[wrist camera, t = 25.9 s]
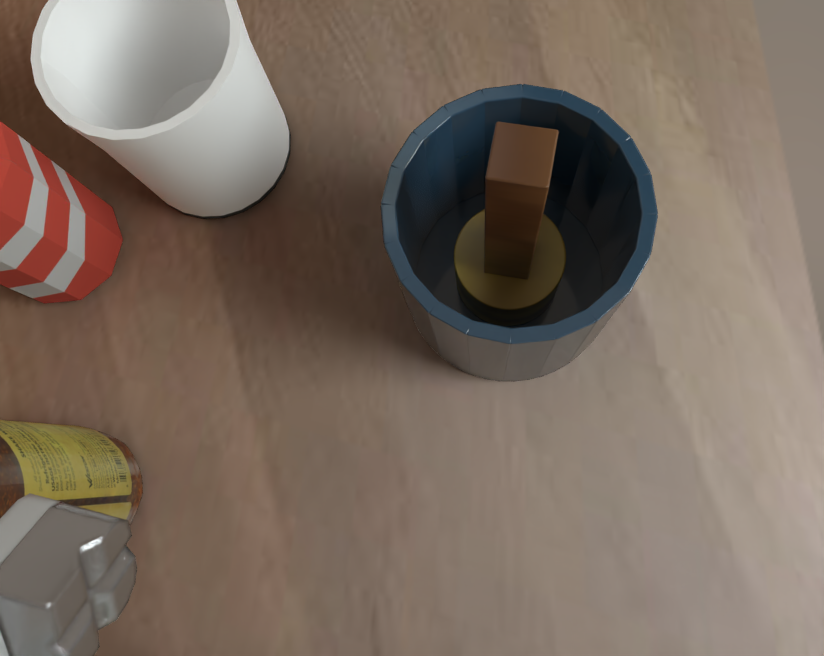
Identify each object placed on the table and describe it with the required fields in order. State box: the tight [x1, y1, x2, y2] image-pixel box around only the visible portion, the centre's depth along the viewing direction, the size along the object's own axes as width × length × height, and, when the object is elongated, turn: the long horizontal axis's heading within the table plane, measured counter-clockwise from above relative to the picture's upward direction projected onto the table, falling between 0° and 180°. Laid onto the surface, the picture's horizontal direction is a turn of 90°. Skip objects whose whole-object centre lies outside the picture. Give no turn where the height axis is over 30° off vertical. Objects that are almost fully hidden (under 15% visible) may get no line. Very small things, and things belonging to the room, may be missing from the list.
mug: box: [31, 0, 291, 219], centre depth 36 cm, size 11×9×10 cm
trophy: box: [454, 121, 566, 326], centre depth 31 cm, size 5×5×14 cm
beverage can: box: [0, 121, 123, 303], centre depth 35 cm, size 6×6×12 cm
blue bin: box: [381, 84, 658, 382], centre depth 33 cm, size 10×10×10 cm
